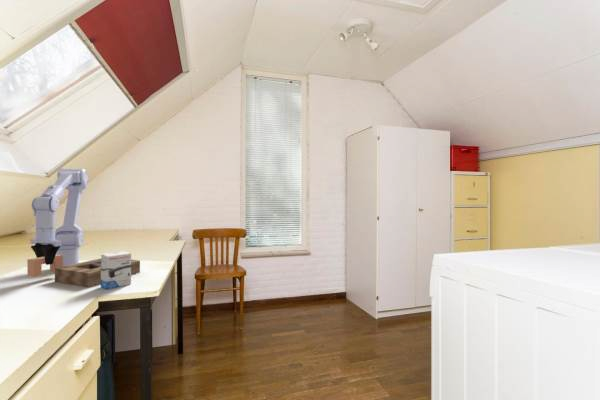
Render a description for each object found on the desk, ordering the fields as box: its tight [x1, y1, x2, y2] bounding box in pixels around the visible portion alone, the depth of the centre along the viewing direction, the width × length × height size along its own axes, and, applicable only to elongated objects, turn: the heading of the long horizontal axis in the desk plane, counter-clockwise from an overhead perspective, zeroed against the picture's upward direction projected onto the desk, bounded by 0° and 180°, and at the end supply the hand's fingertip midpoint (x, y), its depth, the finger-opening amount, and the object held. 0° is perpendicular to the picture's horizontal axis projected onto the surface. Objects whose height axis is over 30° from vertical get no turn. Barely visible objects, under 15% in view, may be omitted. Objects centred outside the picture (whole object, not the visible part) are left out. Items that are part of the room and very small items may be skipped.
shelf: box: [54, 258, 141, 288], centre depth 123 cm, size 18×22×5 cm
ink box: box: [100, 250, 132, 290], centre depth 112 cm, size 8×5×12 cm, turn 143°
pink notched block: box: [26, 254, 63, 278], centre depth 117 cm, size 4×10×6 cm, turn 161°
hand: (45, 263), depth 117 cm, fingers closed on pink notched block, 3 cm apart
